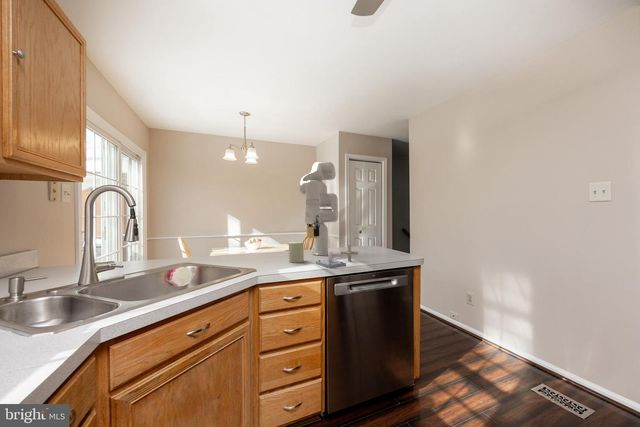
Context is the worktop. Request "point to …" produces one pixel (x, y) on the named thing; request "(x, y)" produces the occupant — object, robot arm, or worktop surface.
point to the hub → (311, 232)
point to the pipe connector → (349, 252)
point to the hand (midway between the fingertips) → (313, 235)
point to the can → (296, 251)
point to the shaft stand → (330, 262)
